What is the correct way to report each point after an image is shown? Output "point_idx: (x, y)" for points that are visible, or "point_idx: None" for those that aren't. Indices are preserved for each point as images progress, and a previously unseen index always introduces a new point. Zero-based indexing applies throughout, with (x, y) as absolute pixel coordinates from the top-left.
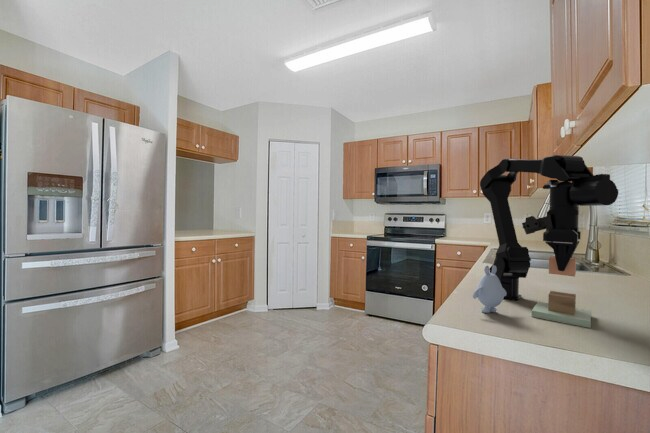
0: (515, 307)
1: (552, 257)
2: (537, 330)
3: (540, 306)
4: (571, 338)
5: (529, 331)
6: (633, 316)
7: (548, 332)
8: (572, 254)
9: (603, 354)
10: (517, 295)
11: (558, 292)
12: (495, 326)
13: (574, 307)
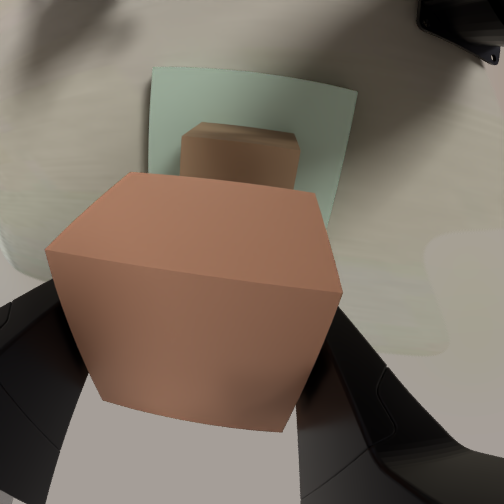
0: (281, 4)
1: (71, 282)
2: (34, 111)
3: (257, 93)
4: (36, 183)
5: (17, 98)
6: (377, 338)
7: (37, 135)
8: (300, 445)
9: (6, 228)
10: (457, 35)
11: (275, 184)
12: (6, 29)
13: None
